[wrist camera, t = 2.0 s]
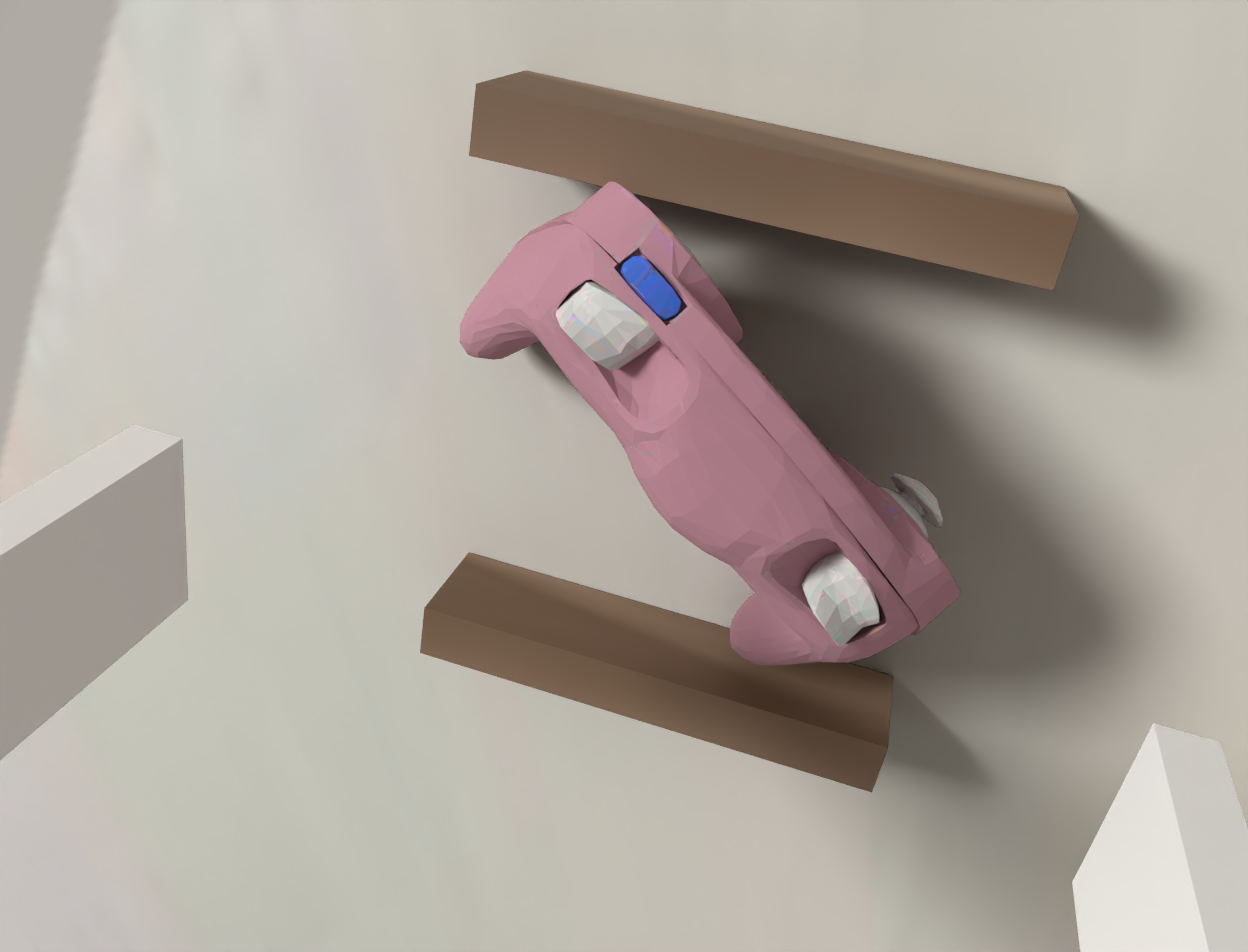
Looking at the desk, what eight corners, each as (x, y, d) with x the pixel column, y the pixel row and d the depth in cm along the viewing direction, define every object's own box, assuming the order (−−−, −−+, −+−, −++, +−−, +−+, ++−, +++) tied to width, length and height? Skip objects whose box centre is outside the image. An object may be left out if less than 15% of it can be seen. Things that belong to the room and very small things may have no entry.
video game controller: (902, 523, 24) (1058, 605, 17) (746, 659, 24) (839, 795, 17) (607, 171, 22) (650, 107, 16) (440, 319, 23) (409, 320, 16)
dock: (878, 718, 25) (871, 792, 22) (463, 594, 26) (420, 652, 24) (1064, 187, 19) (1079, 216, 17) (525, 70, 21) (476, 83, 19)
